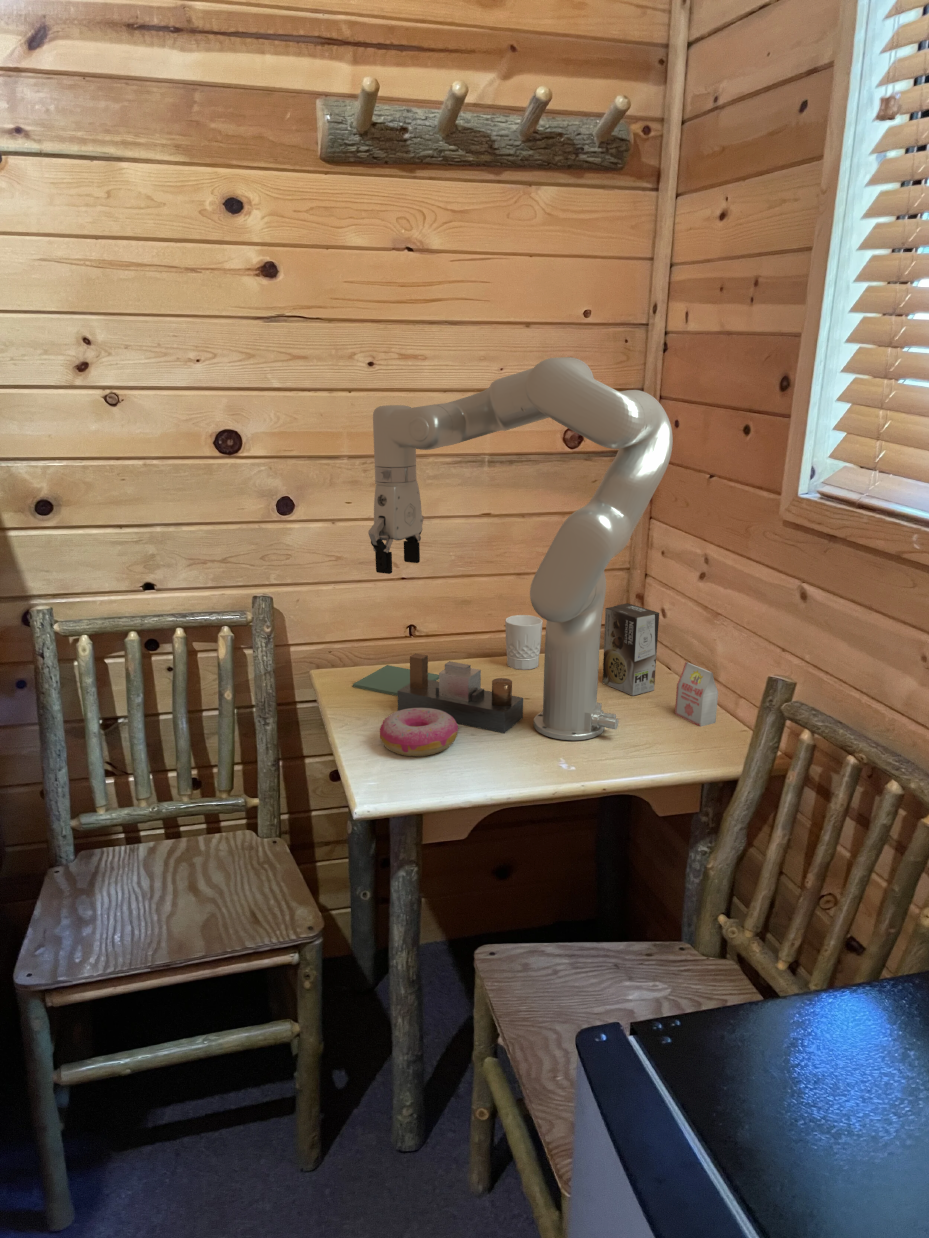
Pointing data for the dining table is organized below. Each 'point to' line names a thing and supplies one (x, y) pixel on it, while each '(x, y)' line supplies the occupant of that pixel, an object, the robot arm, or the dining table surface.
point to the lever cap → (459, 681)
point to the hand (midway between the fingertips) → (398, 567)
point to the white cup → (523, 641)
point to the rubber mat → (388, 680)
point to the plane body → (479, 712)
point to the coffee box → (630, 648)
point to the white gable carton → (696, 695)
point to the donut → (418, 731)
